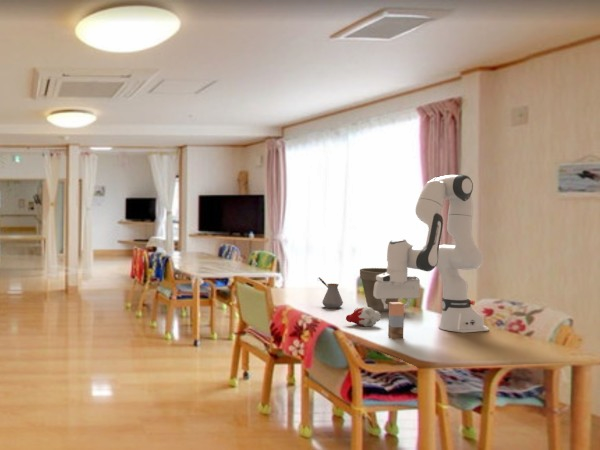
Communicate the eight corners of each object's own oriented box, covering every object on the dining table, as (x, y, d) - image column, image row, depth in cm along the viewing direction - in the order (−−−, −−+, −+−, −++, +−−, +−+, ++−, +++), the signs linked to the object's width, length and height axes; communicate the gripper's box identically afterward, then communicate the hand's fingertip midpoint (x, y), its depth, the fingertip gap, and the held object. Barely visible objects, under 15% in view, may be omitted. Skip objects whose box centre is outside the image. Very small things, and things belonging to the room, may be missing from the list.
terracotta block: (399, 313, 272) (399, 302, 271) (403, 315, 267) (404, 303, 266) (388, 313, 271) (389, 302, 270) (392, 315, 266) (393, 304, 266)
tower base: (399, 336, 272) (399, 324, 272) (403, 338, 267) (403, 327, 267) (388, 336, 271) (388, 325, 271) (392, 338, 266) (392, 327, 266)
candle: (382, 325, 291) (352, 331, 287) (372, 321, 302) (343, 326, 298) (380, 307, 290) (350, 312, 286) (371, 303, 301) (342, 307, 297)
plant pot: (403, 306, 350) (404, 268, 349) (406, 314, 326) (407, 273, 325) (359, 304, 353) (359, 266, 352) (359, 312, 328) (359, 271, 327)
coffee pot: (346, 308, 341) (347, 281, 340) (329, 309, 335) (329, 282, 335) (326, 302, 360) (327, 276, 359) (309, 303, 354) (310, 277, 353)
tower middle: (399, 324, 272) (399, 313, 272) (403, 327, 267) (403, 315, 267) (388, 325, 271) (388, 313, 271) (392, 327, 266) (392, 315, 266)
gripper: (416, 275, 273) (416, 306, 274) (372, 276, 269) (371, 307, 270) (422, 277, 267) (421, 309, 268) (377, 277, 263) (376, 310, 264)
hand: (396, 308), depth 269 cm, fingers open, 8 cm apart
